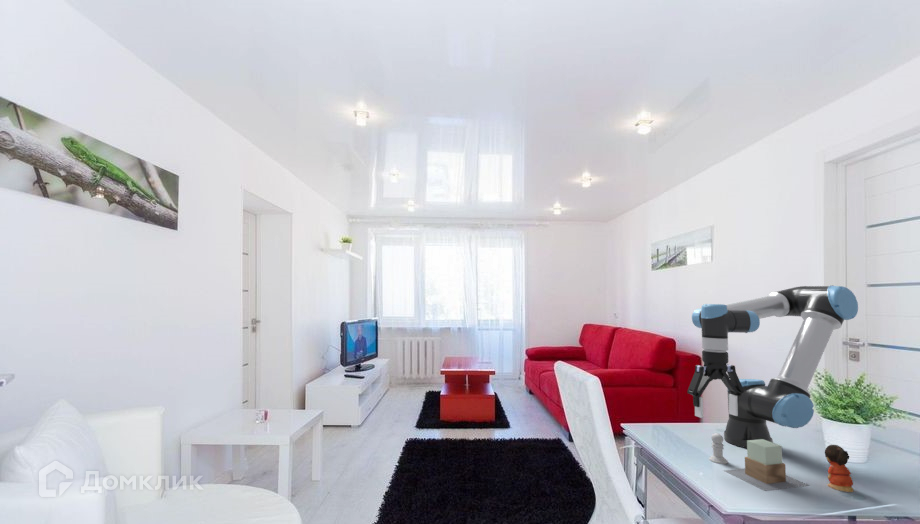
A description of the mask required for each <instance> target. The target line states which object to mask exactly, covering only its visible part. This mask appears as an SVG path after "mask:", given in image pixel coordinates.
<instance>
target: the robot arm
mask: <svg viewBox="0 0 920 524" xmlns="http://www.w3.org/2000/svg"><path fill="white" fill-rule="evenodd" d="M858 311H859V303H858V300H857V296H856V295H855V294H854V292H853V291H852V290H851V289H850V288H848V287H846V286H841V285H837V286H836V285H825V286H824V285H822V286H821V285H816V286H812V285H810V286H807V285H804V286H803V285H802V286H795V287H791V288H787V289H783V290H782V289H781V290H778V291H774V292H770V293H769V294H767V296H764V297H758V298H753V299H749V300H744V301H739V302H735V303H730V304H724V303H723V304H721V303H720V304H719V303H705V304H703V305H701V308H696V309H694V311H693V312H692V315H691V320H692V321H691V322H692V324H693V325H694V326H695V327H696V328H699V329H701V348H702V351H701V354H702V355H701V359H702V362H703V365H699V364H696V365H695V367H694V372H693V373H694V374H693V376H692V378H691V381H690V383H689V386H688V388H687V391H686V392H687V394H689V395H691V396H692V404H693V407H694V416H695V417H698V418H701V419H704V399H703V396H702V395H703V393H704V391H705V390H706V389H707V387H708V386H709V384H710V383H711V382H712V381H715V380H721V381H722V383H723V385H724V386H725V387H726V388H727V390H726V391H727V408H728V420H727V424H726V426H725V430H724V431H723V441H726V442H727V443H729V444H731V445H733V446H737V447H741V448H745V449H747V440H759V439H764V440H767V441H769V442H772V443H774V441H773V437H771V434H770V431H769V427H768V424H767V421H768V422H770V423H774V424H776V425H779V426H781V427H785V428H791V429H799V428H803V427H805V426H806V425H808V424H809V422H811V420H812V418H813V416H814V412H815V410H814V403H813V401H812V399H811V395H812V394H811V393H810V392H809V385H810V384H811V382H812V379H813V377H814V375H815V372H816V370H817V368H818V366H819V363H820V361H821V359H822V356H823V354H824V352H825V349H826V348H827V345H828V343H829V341H830V338H831V336H832V334H833V332H834V330H839V329H841V328H842V326H843V323H844V321H849V320H852V319H855V317H856V316H857V314H858ZM771 317H778V318H783V317H801V318H802V323H801V326H800V327H799V329H798V332H797V334H796V336H795V339H794V340H793V343H792V345H791V347H790V350H789V351H788V354H787V356H786V358H785V360H784V362H783V365H782V367H781V369H780V370H779V373H778V376H776V377H773V378H771V379H770V380H769V382H768V384H767V385H766V382H765V380H763V379H756V378H753V379H752V378H739V376H738V374H737V371H736V365H733V364H730V363H729V352H728V351H729V340H728V339H729V336H728V335H729V333H745V334H749V333H754V332H756V331H757V330H758V329H759V328H760V322H761V319H765V318H771Z"/></svg>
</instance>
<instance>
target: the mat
mask: <svg viewBox="0 0 920 524" xmlns="http://www.w3.org/2000/svg"><path fill="white" fill-rule="evenodd" d="M723 472H726V473H727V474H730V475H731V476H733V477H736V478H737V479H740V480H742V481H744V482H745V483H748V484H750V485H751V486H754V487H756V488H758V489H760V490H763V491H765V492H769V491H777V490H778V491H779V490H785V489H793V488H794V489H795V488H802V487H811V484H808V483H805V482H803V481H801V480H798V479H796V478H794V477H792V476H790V475H787V474H786V482H779V483H770V484H766V483H764V482H761V481H759V480H757V479H755V478H753V477H751V476H749V475H747V474H745V467H744V468H736V469H726V470H725V469H724V470H723Z"/></svg>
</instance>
